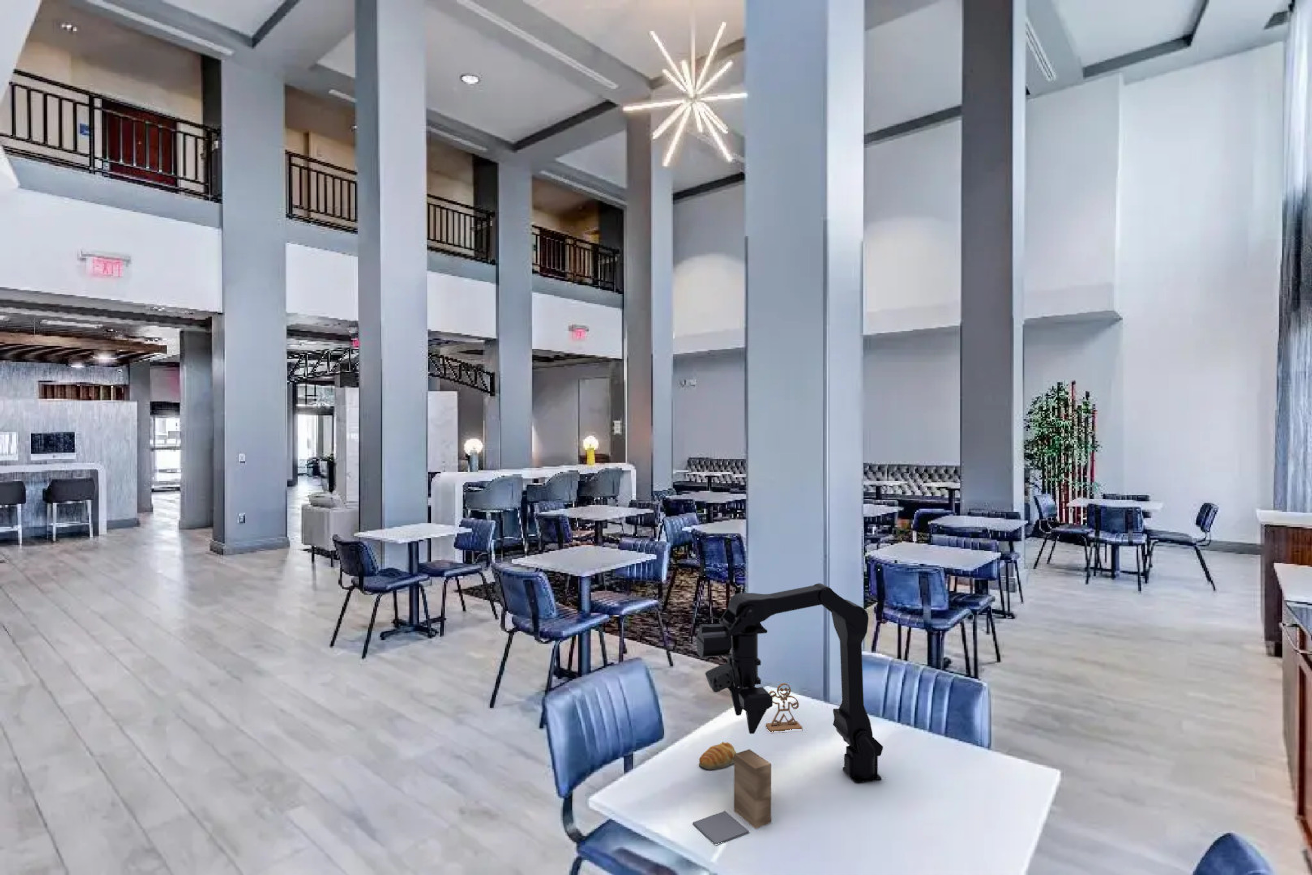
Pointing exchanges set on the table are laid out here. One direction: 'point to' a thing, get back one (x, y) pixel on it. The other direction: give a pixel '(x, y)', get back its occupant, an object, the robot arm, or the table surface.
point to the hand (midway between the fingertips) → (744, 724)
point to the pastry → (718, 756)
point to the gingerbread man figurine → (783, 725)
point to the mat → (720, 827)
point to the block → (752, 788)
